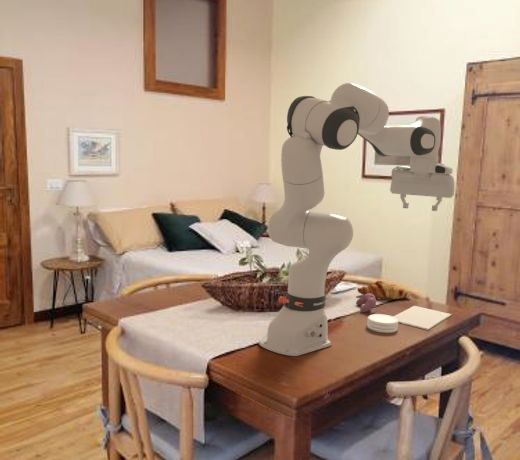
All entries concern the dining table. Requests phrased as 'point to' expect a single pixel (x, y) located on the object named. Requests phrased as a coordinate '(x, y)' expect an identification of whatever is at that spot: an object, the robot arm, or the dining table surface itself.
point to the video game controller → (366, 302)
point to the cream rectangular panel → (421, 317)
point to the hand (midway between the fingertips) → (419, 209)
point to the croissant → (384, 291)
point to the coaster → (382, 323)
